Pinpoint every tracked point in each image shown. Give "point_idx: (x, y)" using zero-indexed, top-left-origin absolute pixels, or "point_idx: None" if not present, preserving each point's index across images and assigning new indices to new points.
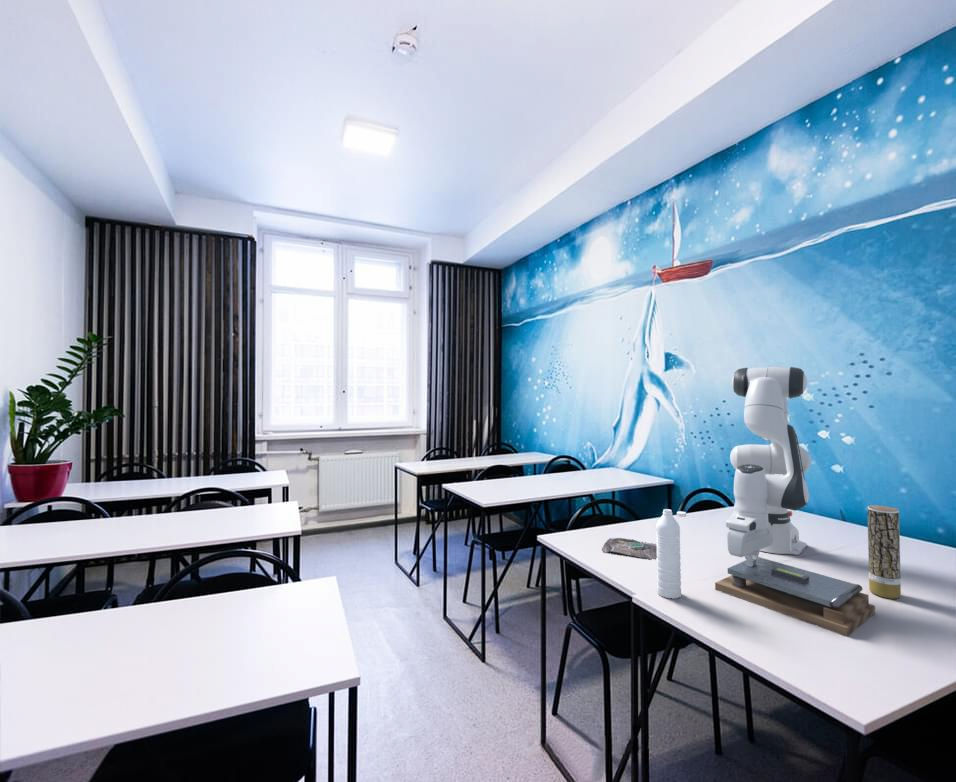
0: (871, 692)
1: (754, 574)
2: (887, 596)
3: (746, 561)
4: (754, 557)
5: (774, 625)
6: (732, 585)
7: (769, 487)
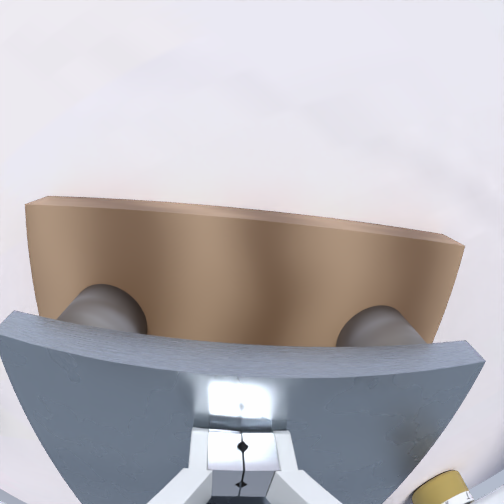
0: (13, 490)
1: (80, 464)
2: (412, 499)
3: (190, 453)
4: (275, 501)
5: (18, 425)
6: (72, 295)
7: None
